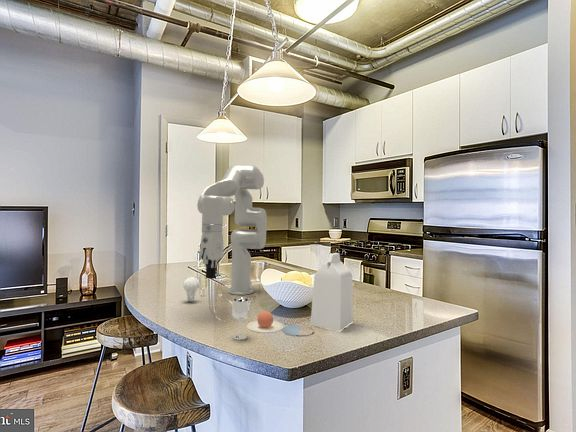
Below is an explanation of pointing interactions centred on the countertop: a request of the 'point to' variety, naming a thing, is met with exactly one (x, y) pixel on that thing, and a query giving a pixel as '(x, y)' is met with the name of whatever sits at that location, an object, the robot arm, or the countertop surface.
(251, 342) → the countertop surface
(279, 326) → the disc
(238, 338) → the wineglass
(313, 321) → the milk
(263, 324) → the ball
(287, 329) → the disc
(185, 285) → the light bulb
